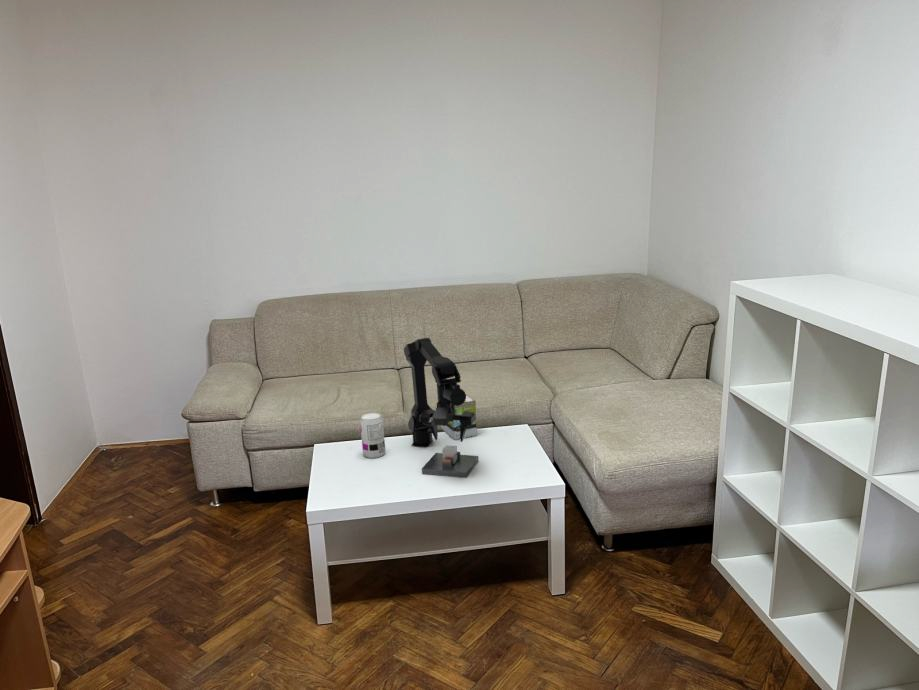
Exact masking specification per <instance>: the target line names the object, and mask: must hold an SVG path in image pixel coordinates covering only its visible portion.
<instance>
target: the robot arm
mask: <svg viewBox="0 0 919 690" xmlns="http://www.w3.org/2000/svg"><path fill="white" fill-rule="evenodd" d="M403 353H404V356H405V359H406V361H407V362H408V363H409V365H410V368H411V377H412V390H413V399H414V404H413V407H412V408H411V411H410V414H411V415H410V418H409V420H408V422H407V426H408V429H409V430H410V431H411V432H412V444H411V446H412V447H422V448H423V447H424V448H428V447H429V446H430V445H431V444H432V443H433V442H434V440H435V441H437V440H438V437H439V435H438V426H441V425H442V426H446V425H447V424H448V422H450V421H451V422H453V420H460V423H461V424H460V425H459V427H460V439H459V440H460V441H459V442H461V443H462V442H463V441H464V439H465V438H464V435H465V432H466V429H467V427H468V426H469V425H472V423H473V422H474V421H475V420H476V421H477V414H476V415H475V413H474V412H464V413H463V414H462V415H456V412H457V411H456V409H455V406H460V405H462V404H463V403H464V402H465V400H466V394H467V393H466V392H465V391H464V389H462V388H461V386H460V384H458V383H462V380H461V378H462V377H461V374H460V372H459V369H458V367H457V366H456V365H457V364H455V363H454V361H453V360H451V359H450V358H448V357H445V356H443V355H442V353H441V352H440V351H439V350H438V349H437V348H436V347H435V345H434V343H432V340H431V338H429V337H423V338H419V339H416V340H415V341H413V342H410V343H406V346H405V347H404V348H403ZM427 362H428V364H429V365H430V366H431V374H432V377H433V378H434V380H435V381H434V382H435V383H436V391H437V392H436V393H437V402H436V408H435V409H432V408H431V407H430V405H429V403H428V395H427V384H426V373H425V372H426V371H425V365H426V363H427ZM465 393H466V394H465ZM433 438H434V439H433Z"/></svg>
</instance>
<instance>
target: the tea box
mask: <svg viewBox="0 0 919 690" xmlns="http://www.w3.org/2000/svg"><path fill="white" fill-rule="evenodd" d="M465 394H466V400H465V402H464V403H463V404H462V405H460V406H455V409H456V411H457V412H456V415H462V414H463V413H464V412H474V413H475V415H476V416H477V408H476V407H477V404H476V399H475V398H473V397H471V396H470V395H469V394H467V393H466V392H465ZM460 424H461V423H460V420H453V422H451V421H450V422H448V424H447V425H446V426H442V425H440V428H441V430H443V431H444V432H445V433H446V434H447V435H448V436H449V437H451V439H453V440H460V427H459V425H460ZM477 424H478V423H477V419H476V420H475V421H474V422H473V423H472V425H469V426H468V427H467V429H466V432H465V435H464V438H463V439H466V437H467V438H471V436H472V437H477V435H478V428H477V427H478V426H477Z"/></svg>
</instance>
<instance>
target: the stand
mask: <svg viewBox="0 0 919 690" xmlns="http://www.w3.org/2000/svg"><path fill="white" fill-rule="evenodd" d="M457 456H458V460H457V461H456V462H455V463H454V464H452V459H443V455H442V453H441V452H435V453H434V454H433V455H432V456H431V457H430V458H429V460H428V461H427V462H426V463H425V464H424V466H423V467H422V468H421V473H422V475H429V476H438V477H439V476H441V477H442V476H443V477H453V478H465V479H466V478H468V476H469V475H470V473H472V471H473V470H474V468H476V465H477V464H478V463H479V461H480V460H479V455H470V454H468V455H467V454H461V451H457Z"/></svg>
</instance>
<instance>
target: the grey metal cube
mask: <svg viewBox="0 0 919 690" xmlns="http://www.w3.org/2000/svg"><path fill="white" fill-rule="evenodd" d="M441 452H442V455H443V459H452V464H454V463H455V462H456V461H457V460H458V456H457V452H458V445H447V444H446V445H445V446H444V447H443V448H442V450H441Z"/></svg>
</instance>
